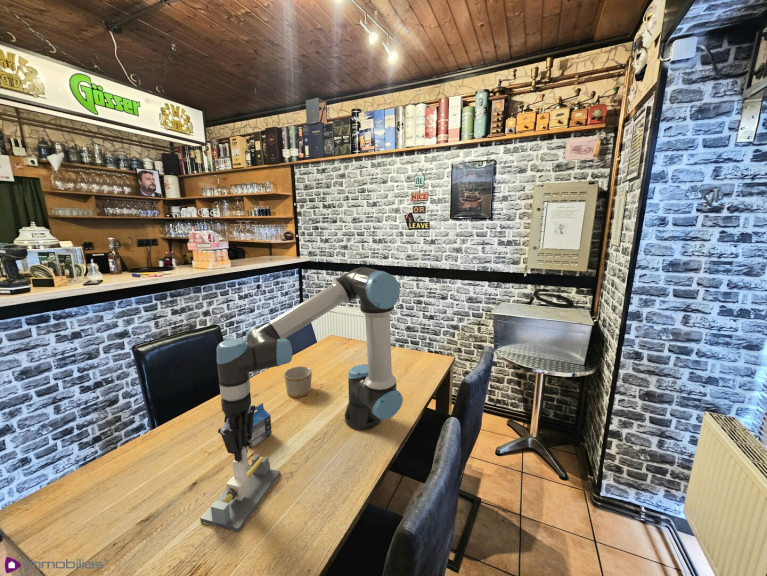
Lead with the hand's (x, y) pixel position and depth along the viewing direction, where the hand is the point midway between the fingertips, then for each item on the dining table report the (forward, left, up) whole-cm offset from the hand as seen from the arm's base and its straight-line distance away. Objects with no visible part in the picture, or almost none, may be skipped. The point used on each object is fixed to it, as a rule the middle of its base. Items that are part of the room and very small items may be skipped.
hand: (242, 467), depth 92 cm
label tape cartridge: (+11, -22, -10) cm, 27 cm away
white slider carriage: (0, +2, -7) cm, 7 cm away
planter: (+13, -56, -10) cm, 59 cm away
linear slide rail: (0, +1, -10) cm, 10 cm away
